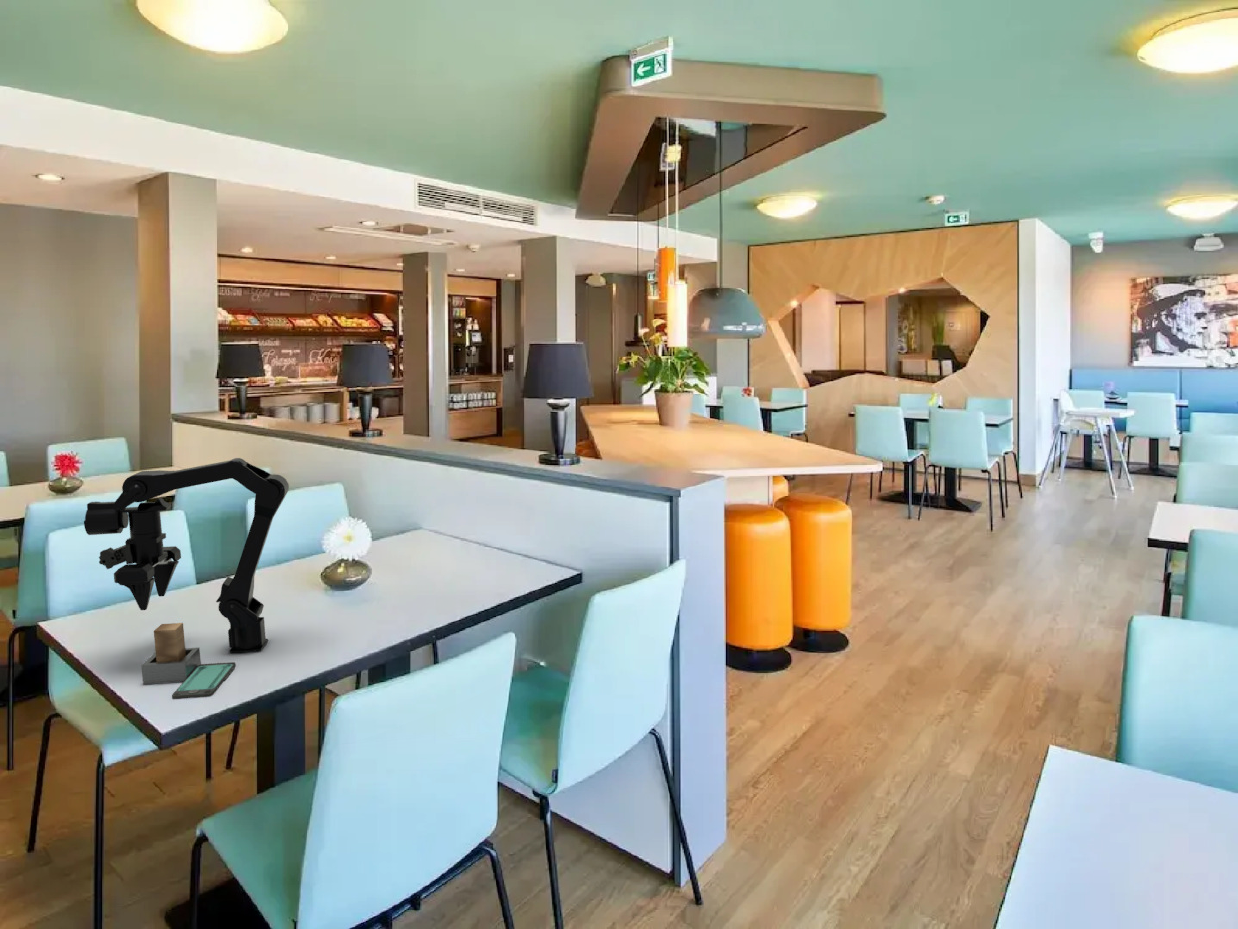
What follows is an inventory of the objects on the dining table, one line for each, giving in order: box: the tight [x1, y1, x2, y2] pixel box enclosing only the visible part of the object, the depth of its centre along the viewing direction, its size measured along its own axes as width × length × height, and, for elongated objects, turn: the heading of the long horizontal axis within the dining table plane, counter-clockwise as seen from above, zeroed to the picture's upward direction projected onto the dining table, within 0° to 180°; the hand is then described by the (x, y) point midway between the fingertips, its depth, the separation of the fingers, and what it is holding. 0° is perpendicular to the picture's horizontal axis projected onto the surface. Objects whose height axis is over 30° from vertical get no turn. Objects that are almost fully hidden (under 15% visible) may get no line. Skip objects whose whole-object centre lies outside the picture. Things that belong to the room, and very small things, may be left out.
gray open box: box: [140, 647, 202, 686], centre depth 157 cm, size 8×8×4 cm
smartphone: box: [171, 661, 237, 700], centre depth 155 cm, size 7×1×15 cm
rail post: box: [153, 622, 186, 663], centre depth 157 cm, size 4×4×10 cm
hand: (152, 602), depth 165 cm, fingers open, 9 cm apart
